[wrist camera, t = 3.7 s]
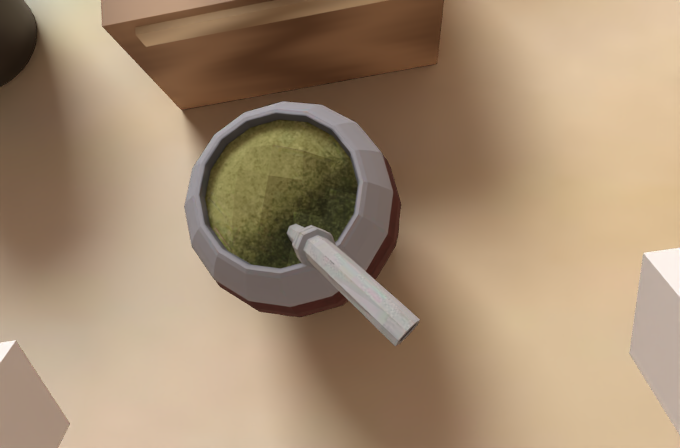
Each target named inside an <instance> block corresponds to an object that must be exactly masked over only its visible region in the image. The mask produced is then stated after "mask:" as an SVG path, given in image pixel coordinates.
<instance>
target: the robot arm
mask: <svg viewBox="0 0 680 448" xmlns="http://www.w3.org/2000/svg"><path fill="white" fill-rule="evenodd" d="M629 354H630V356H631V357H632V359H633V361H634V362H635V364H636V365H637V367H638V369H639V370H640V372H641V374H642V375H643V377H644V378H645V380H646V382H647V383H648V385H649V386H650V388H651V390H652V391H653V393H654V395H655V396H656V398H657V399H658V401H659V403H660V404H661V406H662V408H663V409H664V411H665V412H666V414H667V416H668V417H669V419H670V420H671V422H672V424H673V425H674V427H675V429H676V430H677V432H678V433H679V435H680V248H675V249H667V250H660V251H653V252H646V253H643V258H642V266H641V273H640V280H639V287H638V294H637V302H636V309H635V316H634V323H633V331H632V338H631V345H630V352H629ZM69 425H70V423H69V421H68V420H67V418H66V417H65V415H64V413H63V412H62V410H61V409H60V407H59V406H58V404H57V403H56V401H55V400H54V398H53V397H52V395H51V393H50V392H49V390H48V389H47V387H46V386H45V384H44V383H43V381H42V380H41V378H40V377H39V375H38V374H37V372H36V370H35V369H34V367H33V366H32V364H31V363H30V361H29V360H28V358H27V357H26V355H25V354H24V352H23V350H22V349H21V347H20V346H19V344H18V343H17V341H16V340H15V341H8V342H1V343H0V448H58V447H59V445H60V443H61V441H62V439H63V437H64V435H65V433H66V431H67V429H68V427H69Z"/></svg>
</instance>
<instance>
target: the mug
mask: <svg viewBox="0 0 680 448" xmlns="http://www.w3.org/2000/svg"><path fill="white" fill-rule="evenodd" d="M36 36H37V28H36V23H35V18H34V16H33V14H32V12H31V10H30V8H29V7H28V5H27V4H26V3H25V1H24V0H0V86H2V85H4V84H5V83H7V82H9V81H10V80H11V79H13V78H14V77H15V76H16V75H17V74H18V73H19V72H20V71H21V70H22V69H23V68H24V66H25V65H26V64H27V62H28V61H29V59H30V57H31V55H32V53H33V50H34V47H35V43H36Z"/></svg>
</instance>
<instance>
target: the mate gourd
mask: <svg viewBox="0 0 680 448" xmlns="http://www.w3.org/2000/svg"><path fill="white" fill-rule="evenodd" d="M184 207H185V213H186V218H187V223H188V228H189V234H190V239H191V244H192V248H193V249H194V251H195V252H196V253H197V255H198V256H199V258H200V259H201V261H202V262H203V264H204V265H205V267H206V268H207V270H208V271H209V273H210V274H211V276H212V277H213V279H214V280H216V282H217V283H218V285H219V286H220V287H221V288H223V289H225V290H226V291H228V292H229V293H231V294H232V295H234V296H236V297H237V298H239V299H240V300H242V301H244V302H245V303H247V304H248V305H250V306H251V307H253V308H255V309H256V310H258V311H259V312H266V313H274V314H280V315H285V316H295V317H303V316H306V315H310V314H313V313H317V312H320V311H324V310H328V309H331V308H335V307H338V306H342V305H343V304H345V303H346V302H347V301H350V302H351V303H352V304H353V305H354V306H355V307H356V308H357V309H358V310H359V311H360V312H361V313H362V314H363V315H364V316H365V317H366V318H367V319H368V320H369V321H370V322H371V323H372V324H373V325H374V326H375V327H376V328H377V329H378V330H379V331H380V332H381V333H382V334H383V335H384V336H385V337H386V338H387V339H388V340H389V341H390V342H391V343H392V344H393V345H394V346H397V345H398V344H400V343H401V342H402V341H403V340H404V339H405V338H406V337H407V336H408V335H409V334H410V333H411V332H412V330H413V329H414V328H415V327H416V326H417V325H418V323H419V321H420V319H419V318H417V317H416V316H415V315H414V314H413V313H412V312H411V311H410V310H409V309H408V308H406V307H405V306H404V305H403V304H402V303H401V302H400V301H399V300H397V299H396V298H395V297H394V296H393V295H392V294H391V293H389V292H388V291H387V290H386V289H385V288H384V287H383V286H382V285H380V284H379V283H378V282H377V281H376V280H375V279H376V278H377V276H378V274H379V273H380V271H381V269H382V268H383V266H384V264H385V263H386V261H387V259H388V258H389V256H390V254H391V253H392V251H393V249H394V248H395V246H396V241H397V237H398V230H399V217H400V209H401V202H400V199H399V195H398V192H397V188H396V185H395V181H394V178H393V174H392V171H391V167H390V165H389V163H388V161H387V160H386V158H385V157H384V156H383V154H382V152H381V151H380V150H379V149H378V147H377V146H376V145H375V144H374V143H373V141H372V140H371V139H370V138H369V137H368V135H367V134H366V133H365V132H364V131H363V129H362V128H361V127H360V126H359V124H358V123H356V122H354V121H352V120H350V119H348V118H346V117H344V116H343V115H341V114H339V113H337V112H335V111H333V110H331V109H329V108H327V107H325V106H323V105H318V104H307V103H296V102H284V101H282V102H279V103H276V104H272V105H269V106H265V107H262V108H258V109H255V110H251V111H248V112H244V113H243V114H242V115H240V116H239V117H237V118H236V119H235V120H233V121H232V122H231V123H229V124H228V125H227V126H225V127H224V128H223V129H221V130H220V131H219V132H217V133H216V134H214V136H213V137H212V139H211V140H210V142H209V144H208V145H207V147H206V148H205V150H204V151H203V153H202V154H201V156H200V157H199V159H198V160H197V162H196V164H195V165H194V167H193V168H192V173H191V178H190V182H189V187H188V192H187V197H186V202H185V206H184Z"/></svg>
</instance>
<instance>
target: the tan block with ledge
mask: <svg viewBox="0 0 680 448" xmlns="http://www.w3.org/2000/svg"><path fill="white" fill-rule="evenodd" d="M443 4H444V0H101V11H102V27H103V28H104V29H105V30H106V31H107V32H108V33H109V34H110V35H111V36H112V37H113V38H114V39H115V40H116V41H117V42H118V44H119V45H120V46H121V47H122V48H123V49H124V50H125V51H126V52H127V53H128V54H129V55H130V56H131V57H132V58H133V59H134V60H135V61H136V63H137V64H138V65H139V66H140V67H141V68H142V69H143V70H144V71H145V72H146V73H147V74H148V75H149V76H150V77H151V78H152V79H153V81H154V82H155V83H156V84H157V85H158V86H159V87H160V88H161V89H162V90H163V91H164V92H165V93H166V94H167V95H168V96H169V97H170V98H171V100H172V101H173V102H174V103H175V104H176V105H177V106H178V107H179V108H180V109H181V110H184V109H189V108H195V107H200V106H206V105H211V104H217V103H222V102H228V101H233V100H239V99H244V98H250V97H255V96H261V95H266V94H272V93H278V92H283V91H289V90H294V89H300V88H305V87H311V86H316V85H322V84H327V83H333V82H338V81H344V80H349V79H355V78H360V77H366V76H372V75H377V74H383V73H388V72H394V71H399V70H405V69H410V68H416V67H421V66H427V65H432V64H437V58H438V49H439V40H440V31H441V22H442V13H443Z"/></svg>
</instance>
